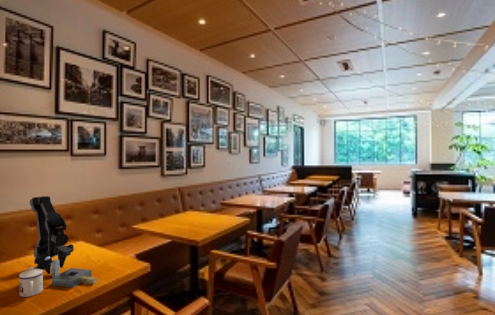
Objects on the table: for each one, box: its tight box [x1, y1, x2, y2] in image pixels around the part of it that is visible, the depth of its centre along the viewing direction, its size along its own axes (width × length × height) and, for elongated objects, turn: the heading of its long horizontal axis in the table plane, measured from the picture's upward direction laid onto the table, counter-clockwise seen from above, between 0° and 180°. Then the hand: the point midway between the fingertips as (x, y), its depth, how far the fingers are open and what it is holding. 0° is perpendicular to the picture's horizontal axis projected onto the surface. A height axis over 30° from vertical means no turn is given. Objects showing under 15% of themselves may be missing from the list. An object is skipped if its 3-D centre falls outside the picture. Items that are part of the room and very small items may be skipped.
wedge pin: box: [50, 258, 61, 278], centre depth 149 cm, size 3×3×8 cm
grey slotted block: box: [51, 267, 98, 289], centre depth 143 cm, size 19×12×4 cm, turn 79°
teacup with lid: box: [18, 266, 44, 298], centre depth 131 cm, size 12×9×12 cm
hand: (55, 270), depth 149 cm, fingers open, 7 cm apart
